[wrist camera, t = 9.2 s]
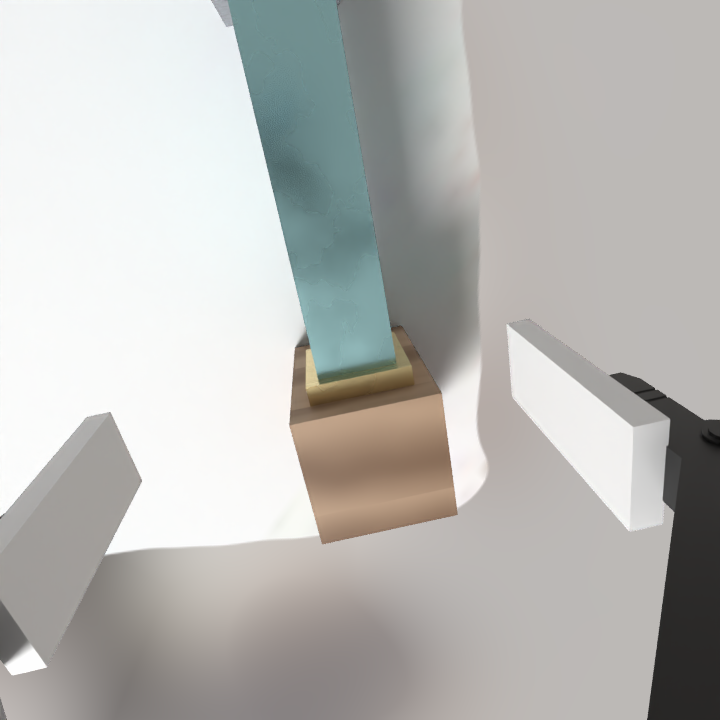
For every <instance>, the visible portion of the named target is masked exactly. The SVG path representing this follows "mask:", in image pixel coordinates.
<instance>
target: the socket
mask: <svg viewBox="0 0 720 720" xmlns="http://www.w3.org/2000/svg"><path fill="white" fill-rule="evenodd" d="M391 332H394V333H395V335H396V337H397V339H398V341H399V343H400V344H401V346H402V348H403V350H404V352H405V354H406V356H407V358H408V360H409V362H410V364H411V365H412V372H413V378H414V385H411V386H406V387H401V388H396V389H392V390H387V391H382V392H377V393H373V394H368V395H363V396H359V397H354V398H349V399H344V400H340V401H335V402H330V403H325V404H321V405H316V406H311V407H310V403H309V399H308V395H307V391H306V350H308V349H311V348H310V345H306V346H302V347H297V348H295V354H294V368H293V382H292V396H291V410H290V425H289V426H290V429H291V433H292V437H293V440H294V444H295V447H296V451H297V455H298V458H299V462H300V466H301V469H302V473H303V476H304V480H305V484H306V487H307V491H308V495H309V498H310V502H311V505H312V509H313V513H314V516H315V520H316V524H317V527H318V531H319V534H320V538H321V542H322V544H326V543H331V542H335V541H339V540H344V539H349V538H353V537H358V536H362V535H367V534H372V533H376V532H381V531H386V530H390V529H394V528H399V527H404V526H408V525H413V524H418V523H422V522H426V521H431V520H436V519H441V518H445V517H450V516H454V515H457V506H456V499H455V491H454V483H453V476H452V468H451V461H450V453H449V445H448V438H447V430H446V423H445V415H444V407H443V400H442V393H441V391H440V390H439V388H438V386H437V385H436V383H435V381H434V379H433V378H432V376H431V374H430V373H429V371H428V369H427V368H426V366H425V364H424V363H423V361H422V359H421V358H420V356H419V354H418V353H417V351H416V349H415V347H414V346H413V344H412V342H411V341H410V339H409V337H408V336H407V334H406V332H405V331H404V329H403V327H402V326H398V327H393V328H391Z"/></svg>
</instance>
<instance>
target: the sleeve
mask: <svg viewBox="0 0 720 720" xmlns="http://www.w3.org/2000/svg"><path fill="white" fill-rule="evenodd" d="M211 1H212V3H213V4H214V6H215V8H216V9H217V11H218V13H219V15H220V16H221V18H222V20H223V22H224V23H225V25H226V27H227V26H232V25H233V21H232V17H231V13H230V9H229V5H228V1H227V0H211ZM339 2H340V0H336V4H337V5H339Z"/></svg>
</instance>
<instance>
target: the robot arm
mask: <svg viewBox="0 0 720 720" xmlns="http://www.w3.org/2000/svg"><path fill="white" fill-rule="evenodd" d="M507 335H508V348H509V360H510V374H511V386H512V397H513V399H514V400H515V401H516V402H517V403H518V404H519V405H520V407H521V408H522V409H523V410H524V411H525V412H526V413H527V415H528V416H529V417H530V418H531V419H532V420H533V422H534V423H535V424H536V425H537V426H538V427H539V428H540V429H541V431H542V432H543V433H544V434H545V435H546V436H547V438H548V439H549V440H550V441H551V442H552V443H553V444H554V446H555V447H556V448H557V449H558V450H559V451H560V452H561V454H562V455H563V456H564V457H565V458H566V459H567V460H568V462H569V463H570V464H571V465H572V466H573V467H574V469H575V470H576V471H577V472H578V473H579V474H580V475H581V477H582V478H583V479H584V480H585V481H586V482H587V483H588V485H589V486H590V487H591V488H592V489H593V490H594V492H595V493H596V494H597V495H598V496H599V497H600V498H601V500H602V501H603V502H604V503H605V504H606V505H607V506H608V508H609V509H610V510H611V511H612V512H613V513H614V514H615V516H616V517H617V518H618V519H619V520H620V521H621V523H623V525H624V526H625V527H626V528H627V529H628V530H629V532H630V531H635V530H640V529H644V528H648V527H652V526H657V525H661V524H663V513H664V502H665V503H666V504H667V505H668V506H669V507H670V508H671V509H672V510H673V511H674V512H675V513H674V520H673V528H672V536H671V543H670V551H669V559H668V566H667V574H666V582H665V589H664V597H663V604H662V612H661V620H660V627H659V635H658V642H657V650H656V657H655V665H654V672H653V680H652V688H651V695H650V703H649V711H648V718H647V720H720V420H703V419H701V418H700V417H698V416H697V415H695V414H694V413H692V412H691V411H689V410H688V409H686V408H685V407H683V406H682V405H680V404H678V403H677V402H675V401H674V400H672V399H671V398H667V397H666V395H665V394H663V393H662V392H660V391H659V390H655V388H654V387H652V386H651V385H649V384H648V383H646V382H645V381H643V380H642V379H640V378H637V377H633V376H630V375H627V374H624V373H617V374H612V375H608V374H606V373H605V372H603V371H602V370H600V369H599V368H598V367H596V366H595V365H594V364H592V363H591V362H589V361H588V360H586V359H585V358H583V357H582V356H581V355H580V354H578V353H577V352H575V351H574V350H572V349H571V348H570V347H568V346H567V345H565V344H564V343H563V342H561V341H560V340H558V339H557V338H556V337H554V336H553V335H551V334H550V333H549V332H547V331H546V330H544V329H543V328H541V327H540V326H539V325H537V324H536V323H534V322H533V321H532V320H530V319H526V320H522V321H517V322H513V323H509V324H507ZM141 482H142V479H141V477H140V475H139V473H138V471H137V469H136V467H135V464H134V462H133V460H132V458H131V456H130V454H129V451H128V449H127V447H126V445H125V443H124V441H123V438H122V436H121V434H120V432H119V430H118V428H117V425H116V423H115V421H114V419H113V417H112V415H111V412H108V413H104V414H99V415H95V416H91V417H87V418H86V419H85V420H84V421H83V422H82V424H81V425H80V426H79V427H78V428H77V429H76V431H75V432H74V433H73V434H72V435H71V436H70V438H69V439H68V440H67V441H66V442H65V444H64V445H63V446H62V447H61V448H60V449H59V451H58V452H57V453H56V454H55V455H54V456H53V458H52V459H51V460H50V461H49V462H48V464H47V465H46V466H45V467H44V468H43V469H42V471H41V472H40V473H39V474H38V475H37V477H36V478H35V479H34V480H33V481H32V482H31V484H30V485H29V486H28V487H27V488H26V489H25V491H24V492H23V493H22V494H21V495H20V497H19V498H18V499H17V500H16V501H15V502H14V504H13V505H12V506H11V507H10V508H9V509H8V511H7V512H6V513H5V514H3V515H2V516H1V517H0V660H1V661H2V662H3V664H4V665H5V666H6V668H7V669H8V670H9V672H10V673H11V675H16V674H20V673H25V672H29V671H33V670H38V669H42V668H46V667H47V666H48V664H49V662H50V660H51V659H52V657H53V655H54V653H55V651H56V649H57V647H58V645H59V643H60V641H61V639H62V637H63V635H64V633H65V631H66V629H67V627H68V625H69V623H70V621H71V619H72V617H73V615H74V613H75V611H76V610H77V608H78V606H79V604H80V602H81V600H82V598H83V596H84V594H85V592H86V590H87V588H88V586H89V584H90V582H91V580H92V578H93V576H94V574H95V572H96V570H97V568H98V566H99V564H100V562H101V560H102V558H103V557H104V555H105V553H106V551H107V549H108V547H109V545H110V543H111V541H112V539H113V537H114V535H115V533H116V531H117V529H118V527H119V525H120V523H121V521H122V519H123V517H124V515H125V513H126V511H127V509H128V507H129V505H130V504H131V502H132V500H133V498H134V496H135V494H136V492H137V490H138V488H139V486H140V484H141ZM0 720H7V719H6V715H5V712H4V709H3V706H2V702H1V699H0Z"/></svg>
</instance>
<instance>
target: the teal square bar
mask: <svg viewBox="0 0 720 720" xmlns="http://www.w3.org/2000/svg"><path fill="white" fill-rule="evenodd" d="M227 1H228V5H229V9H230V13H231V17H232V21H233V26H234V30H235V34H236V38H237V42H238V47H239V51H240V55H241V59H242V63H243V67H244V72H245V76H246V80H247V84H248V88H249V93H250V97H251V101H252V105H253V109H254V113H255V118H256V122H257V126H258V130H259V134H260V139H261V143H262V147H263V151H264V155H265V159H266V164H267V168H268V172H269V176H270V180H271V185H272V189H273V193H274V197H275V201H276V205H277V210H278V214H279V218H280V222H281V226H282V231H283V235H284V239H285V243H286V247H287V251H288V256H289V260H290V264H291V268H292V272H293V277H294V281H295V285H296V289H297V293H298V297H299V302H300V306H301V310H302V314H303V318H304V323H305V327H306V331H307V335H308V339H309V343H310V348H311V349H308V350H306V391H307V395H308V399H309V403H310V407H311V406H316V405H321V404H325V403H330V402H335V401H340V400H344V399H349V398H354V397H359V396H363V395H368V394H373V393H377V392H382V391H387V390H392V389H396V388H401V387H406V386H411V385H414V378H413V372H412V365H411V364H410V362H409V360H408V358H407V356H406V354H405V352H404V350H403V348H402V346H401V344H400V343H399V341H398V339H397V337H396V335H395V333H394V332H391V327H390V321H389V315H388V309H387V303H386V297H385V291H384V285H383V279H382V273H381V267H380V261H379V255H378V249H377V243H376V237H375V231H374V225H373V219H372V213H371V207H370V201H369V195H368V189H367V183H366V177H365V171H364V165H363V159H362V153H361V147H360V141H359V135H358V129H357V123H356V117H355V112H354V106H353V100H352V94H351V88H350V82H349V76H348V70H347V64H346V58H345V52H344V46H343V40H342V34H341V28H340V22H339V16H338V10H337V4H336V0H227Z"/></svg>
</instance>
